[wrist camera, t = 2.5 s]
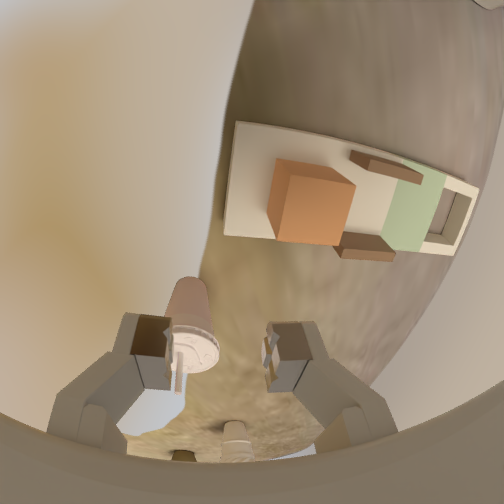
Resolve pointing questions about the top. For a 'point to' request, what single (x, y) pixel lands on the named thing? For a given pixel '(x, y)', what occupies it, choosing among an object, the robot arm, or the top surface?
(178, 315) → the smoothie
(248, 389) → the top surface
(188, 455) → the squeeze bottle
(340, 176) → the block
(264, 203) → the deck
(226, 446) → the soft serve ice cream cone
